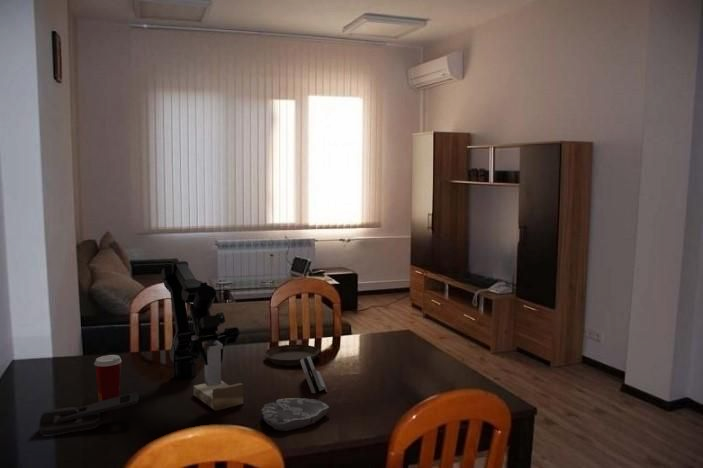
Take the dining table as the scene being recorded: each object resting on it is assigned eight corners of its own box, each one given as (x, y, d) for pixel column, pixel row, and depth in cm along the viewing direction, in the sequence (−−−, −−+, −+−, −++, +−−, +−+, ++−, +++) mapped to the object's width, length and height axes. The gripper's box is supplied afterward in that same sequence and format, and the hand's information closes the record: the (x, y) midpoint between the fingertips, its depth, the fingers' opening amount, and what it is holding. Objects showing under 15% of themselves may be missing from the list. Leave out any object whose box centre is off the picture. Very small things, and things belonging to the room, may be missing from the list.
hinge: (327, 392, 183) (317, 364, 182) (314, 398, 183) (303, 370, 181) (321, 375, 200) (311, 349, 198) (308, 381, 199) (298, 354, 198)
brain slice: (297, 402, 176) (297, 392, 176) (337, 417, 164) (337, 407, 164) (244, 421, 162) (244, 410, 162) (283, 439, 150) (283, 428, 150)
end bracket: (204, 383, 172) (204, 342, 171) (217, 381, 174) (217, 340, 173) (210, 388, 168) (209, 346, 166) (223, 386, 170) (222, 344, 169)
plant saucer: (253, 360, 218) (253, 352, 217) (292, 348, 233) (292, 340, 233) (291, 372, 204) (291, 363, 204) (330, 358, 220) (330, 350, 220)
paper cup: (128, 400, 177) (127, 355, 176) (110, 409, 170) (109, 363, 168) (108, 397, 179) (106, 353, 178) (89, 406, 172) (87, 360, 171)
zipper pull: (139, 400, 159) (36, 413, 150) (139, 424, 160) (37, 438, 151) (138, 390, 167) (41, 402, 158) (138, 412, 168) (42, 425, 159)
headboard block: (193, 395, 181) (193, 376, 181) (220, 388, 187) (220, 370, 186) (215, 410, 169) (214, 390, 168) (243, 403, 174) (242, 384, 174)
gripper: (175, 307, 168) (187, 354, 160) (237, 300, 178) (251, 344, 169) (169, 328, 175) (180, 374, 167) (228, 320, 185) (241, 363, 177)
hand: (214, 363), depth 170 cm, fingers closed on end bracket, 4 cm apart
